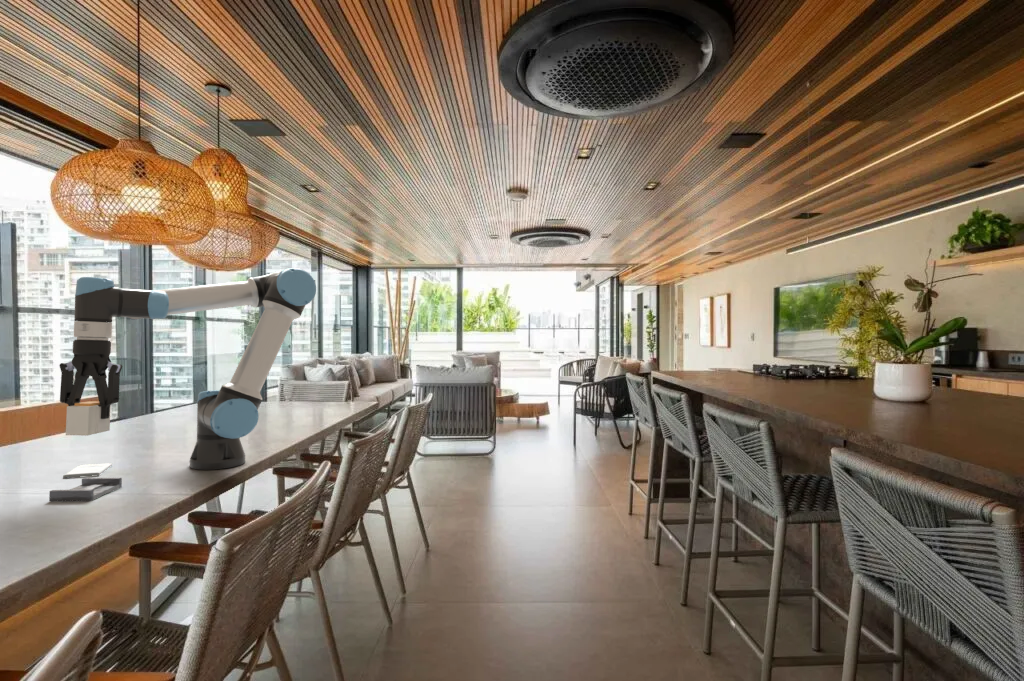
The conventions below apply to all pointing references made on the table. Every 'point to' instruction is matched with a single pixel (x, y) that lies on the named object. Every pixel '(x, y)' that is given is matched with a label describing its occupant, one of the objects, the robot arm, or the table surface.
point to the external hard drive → (88, 470)
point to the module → (83, 419)
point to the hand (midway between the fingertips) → (88, 431)
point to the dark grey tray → (87, 490)
